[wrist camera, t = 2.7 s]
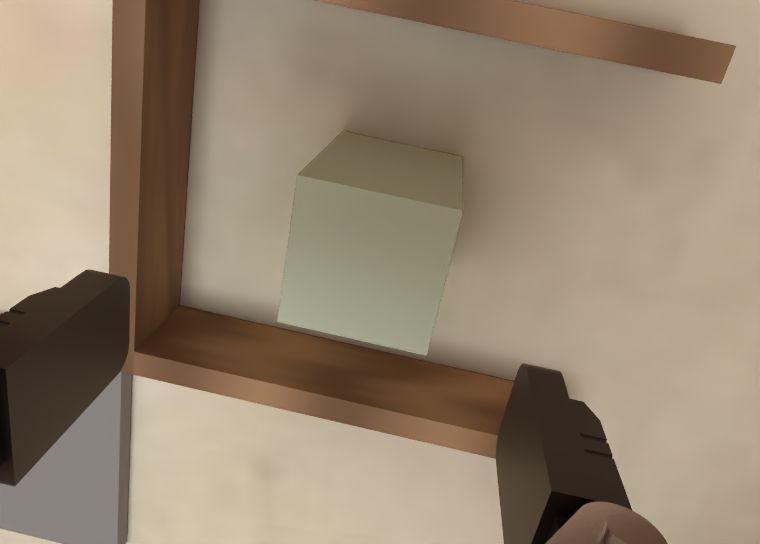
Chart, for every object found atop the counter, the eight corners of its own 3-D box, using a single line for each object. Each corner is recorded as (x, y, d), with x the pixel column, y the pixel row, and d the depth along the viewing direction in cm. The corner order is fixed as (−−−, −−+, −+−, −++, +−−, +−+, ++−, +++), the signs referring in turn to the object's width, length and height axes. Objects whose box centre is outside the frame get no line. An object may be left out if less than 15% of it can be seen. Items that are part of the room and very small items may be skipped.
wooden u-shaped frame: (685, 41, 20) (736, 45, 17) (552, 411, 26) (567, 475, 23) (174, -63, 21) (113, -81, 17) (155, 320, 27) (107, 368, 23)
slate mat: (133, 345, 27) (121, 356, 27) (126, 541, 32) (116, 556, 31) (-122, 286, 28) (-141, 295, 27) (-91, 488, 33) (-107, 502, 32)
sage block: (462, 156, 23) (463, 210, 16) (435, 267, 24) (426, 355, 18) (343, 131, 23) (297, 175, 16) (324, 242, 25) (277, 321, 18)
